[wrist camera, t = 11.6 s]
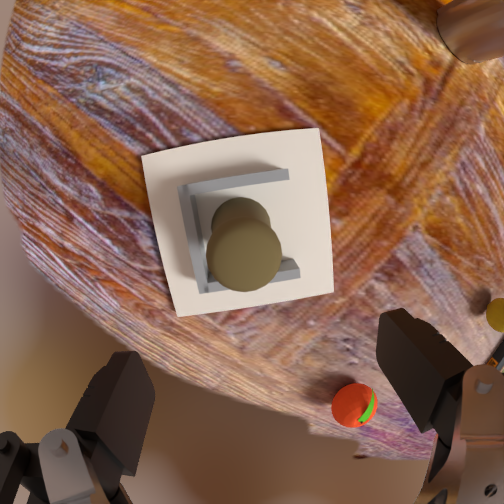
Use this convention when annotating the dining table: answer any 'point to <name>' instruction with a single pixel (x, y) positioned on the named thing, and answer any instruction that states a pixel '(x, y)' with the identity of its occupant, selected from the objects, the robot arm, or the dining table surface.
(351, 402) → the clementine
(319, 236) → the U-rest
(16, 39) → the dining table surface
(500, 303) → the lemon
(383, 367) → the robot arm
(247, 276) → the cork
